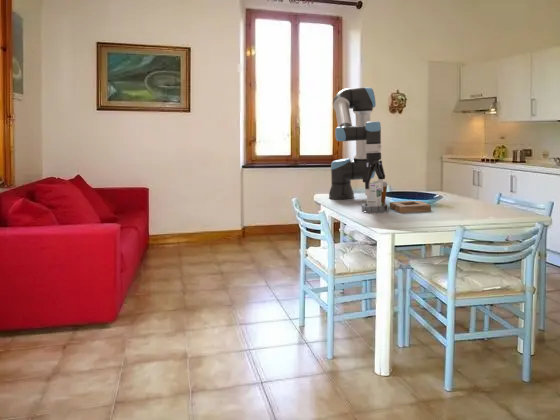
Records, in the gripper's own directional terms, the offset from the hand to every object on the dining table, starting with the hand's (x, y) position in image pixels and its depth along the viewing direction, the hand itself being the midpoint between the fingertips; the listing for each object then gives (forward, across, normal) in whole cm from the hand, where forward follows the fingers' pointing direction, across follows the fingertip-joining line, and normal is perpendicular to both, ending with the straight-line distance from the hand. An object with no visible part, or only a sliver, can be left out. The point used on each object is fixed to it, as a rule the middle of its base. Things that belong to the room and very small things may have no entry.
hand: (374, 193), depth 265 cm
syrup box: (+9, 0, 0) cm, 9 cm away
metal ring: (+9, 0, 0) cm, 9 cm away
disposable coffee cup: (+9, +19, +7) cm, 22 cm away
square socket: (+9, +10, -15) cm, 20 cm away
